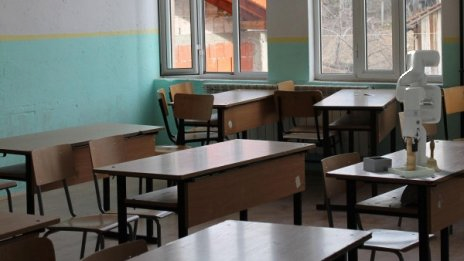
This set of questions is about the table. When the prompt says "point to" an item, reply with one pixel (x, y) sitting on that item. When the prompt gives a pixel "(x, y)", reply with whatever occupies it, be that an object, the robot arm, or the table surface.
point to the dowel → (410, 156)
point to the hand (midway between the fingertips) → (411, 150)
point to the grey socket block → (377, 164)
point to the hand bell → (432, 158)
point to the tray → (412, 172)
